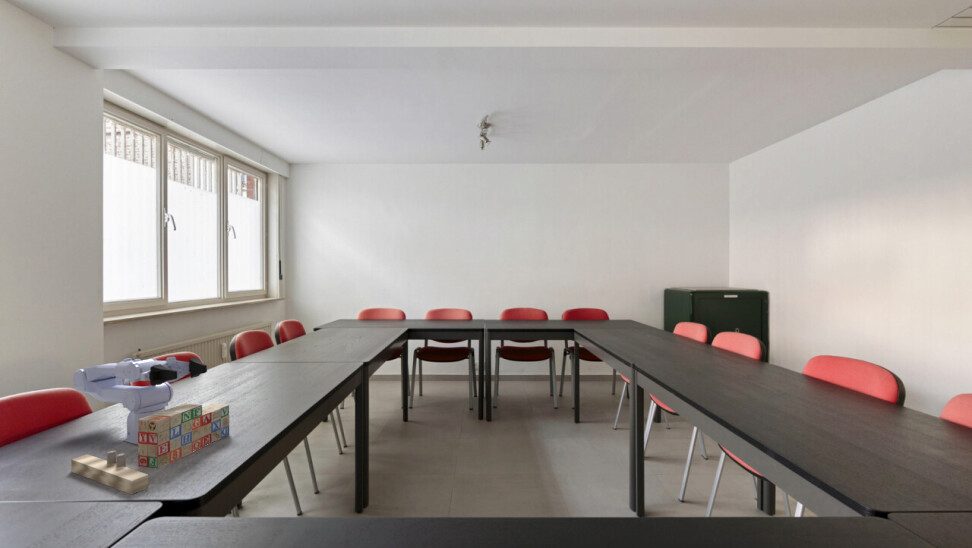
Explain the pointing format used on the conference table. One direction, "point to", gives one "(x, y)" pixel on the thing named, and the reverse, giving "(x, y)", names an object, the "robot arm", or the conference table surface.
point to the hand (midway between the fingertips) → (191, 371)
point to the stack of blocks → (179, 432)
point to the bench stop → (110, 472)
